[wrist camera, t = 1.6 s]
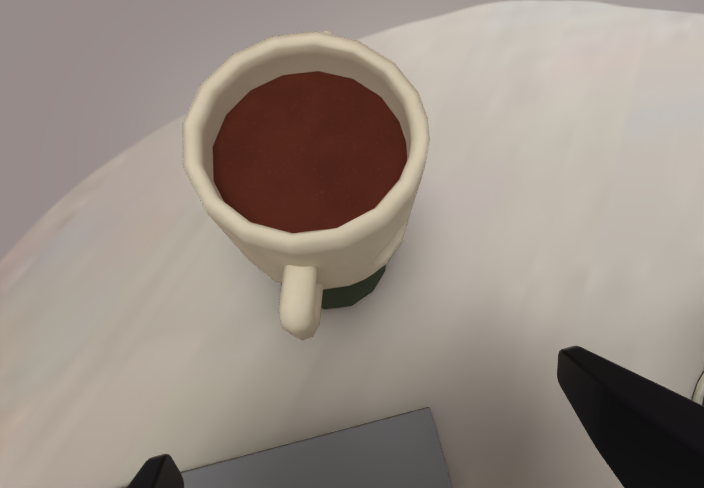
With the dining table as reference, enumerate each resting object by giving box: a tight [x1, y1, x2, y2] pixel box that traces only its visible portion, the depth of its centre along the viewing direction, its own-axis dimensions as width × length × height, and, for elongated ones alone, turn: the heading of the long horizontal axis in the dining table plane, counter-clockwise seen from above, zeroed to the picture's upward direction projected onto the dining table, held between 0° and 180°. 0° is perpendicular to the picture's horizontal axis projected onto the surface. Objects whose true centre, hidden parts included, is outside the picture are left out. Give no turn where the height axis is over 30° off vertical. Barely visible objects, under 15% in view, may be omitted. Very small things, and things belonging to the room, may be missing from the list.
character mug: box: [182, 30, 430, 340], centre depth 19 cm, size 11×7×13 cm, turn 176°
